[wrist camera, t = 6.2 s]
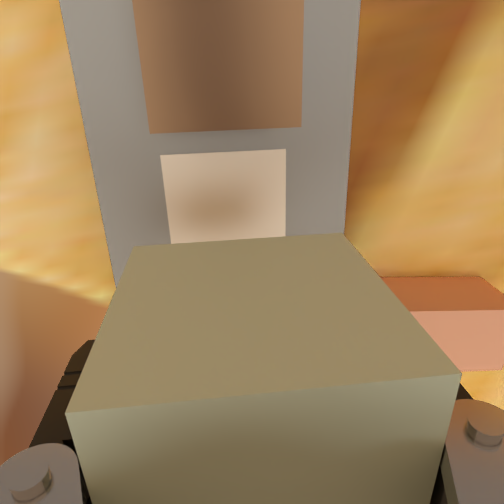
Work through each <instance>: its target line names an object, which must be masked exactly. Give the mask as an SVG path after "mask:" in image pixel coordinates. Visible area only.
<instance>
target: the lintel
mask: <svg viewBox="0 0 504 504" xmlns="http://www.w3.org/2000/svg"><path fill="white" fill-rule="evenodd" d="M380 278H381V279H382V280H383V281H384V282H385V284H386V285H387V286H388V287H389V288H390V289H391V291H392V292H393V293H394V294H395V295H396V297H397V298H398V299H399V300H400V301H401V302H402V304H403V305H404V306H405V307H406V308H407V309H408V311H409V312H410V313H411V314H412V315H413V316H414V318H415V319H416V320H417V321H418V322H419V324H420V325H421V326H422V327H423V328H424V329H425V331H426V332H427V333H428V334H429V335H430V336H431V338H432V339H433V340H434V341H435V342H436V343H437V345H438V346H439V347H440V348H441V349H442V351H443V352H444V353H445V354H446V355H447V356H448V358H449V359H450V360H451V361H452V362H453V363H454V365H455V366H456V367H457V368H458V369H459V370H460V371H489V370H502V368H503V365H504V294H503V293H502V292H500V291H499V290H497V289H496V288H495V287H493V286H492V285H491V284H489V283H488V282H487V281H485V280H484V279H483V278H481V277H380Z"/></svg>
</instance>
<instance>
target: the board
mask: <svg viewBox="0 0 504 504" xmlns="http://www.w3.org/2000/svg"><path fill="white" fill-rule="evenodd" d="M59 3H60V8H61V13H62V18H63V23H64V28H65V33H66V38H67V43H68V48H69V53H70V58H71V63H72V68H73V73H74V78H75V83H76V88H77V93H78V99H79V104H80V109H81V114H82V119H83V124H84V129H85V134H86V139H87V144H88V149H89V154H90V159H91V164H92V169H93V174H94V179H95V184H96V189H97V194H98V199H99V205H100V210H101V215H102V220H103V225H104V230H105V235H106V240H107V245H108V250H109V255H110V260H111V265H112V270H113V275H114V280H115V285H116V288H117V285H118V283H119V281H120V278H121V276H122V273H123V271H124V268H125V266H126V264H127V261H128V259H129V256H130V254H131V252H132V249H133V247H134V246H146V245H161V244H176V243H192V242H207V241H222V240H237V239H253V238H268V237H283V236H298V235H313V234H329V233H343V234H344V226H345V213H346V199H347V185H348V171H349V157H350V143H351V129H352V115H353V101H354V87H355V73H356V59H357V46H358V32H359V18H360V4H361V0H304V28H303V75H302V123H301V127H292V128H270V129H248V130H225V131H203V132H181V133H159V134H150V132H149V125H148V117H147V110H146V102H145V95H144V87H143V79H142V72H141V64H140V57H139V49H138V42H137V34H136V27H135V19H134V12H133V4H132V0H59Z"/></svg>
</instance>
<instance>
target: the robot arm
mask: <svg viewBox="0 0 504 504" xmlns="http://www.w3.org/2000/svg"><path fill="white" fill-rule="evenodd" d="M94 341H95V340H88V341H87V342H86V343H85V344H84V345H83V346H81V347H80V348H79V349H78V350H77V352H75V353H74V354H73V355H72V357H71V359H70V361H69V363H68V365H67V367H66V370H65V372H64V376H62V378H61V380H60V383H59V384H58V389H57V390H56V391H55V393H54V395H53V397H52V400H51V401H50V404H49V406H48V408H47V410H46V412H45V414H44V417H43V419H42V421H41V423H40V425H39V427H38V429H37V431H36V433H35V436H34V438H33V440H32V442H31V444H30V446H29V448H28V449H26V450H23V451H21V452H20V453H18V454H16V455H15V456H13V457H12V458H10V459H8V461H6V462H5V463H4V464H2V465H1V466H0V504H92V501H91V498H90V495H89V491H88V488H87V485H86V482H85V478H84V475H83V472H82V468H81V465H80V462H79V458H78V455H77V452H76V448H75V445H74V442H73V438H72V435H71V432H70V428H69V425H68V422H67V419H66V415H65V412H66V409H67V407H68V404H69V402H70V399H71V397H72V395H73V392H74V390H75V387H76V385H77V382H78V380H79V378H80V375H81V373H82V370H83V368H84V366H85V363H86V361H87V358H88V356H89V353H90V351H91V349H92V346H93V344H94ZM430 504H504V410H502V409H500V408H498V407H496V406H494V405H491V404H489V403H486V402H483V401H479V400H473V398H472V397H471V396H470V395H469V393H468V392H467V391H466V390H465V389H464V387H463V386H462V385H461V384H459V388H458V392H457V396H456V400H455V404H454V408H453V412H452V416H451V420H450V424H449V428H448V432H447V436H446V440H445V444H444V448H443V452H442V456H441V460H440V464H439V468H438V472H437V476H436V480H435V484H434V488H433V492H432V496H431V500H430Z"/></svg>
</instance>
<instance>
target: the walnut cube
mask: <svg viewBox="0 0 504 504" xmlns="http://www.w3.org/2000/svg"><path fill="white" fill-rule="evenodd" d="M132 4H133V12H134V19H135V27H136V34H137V42H138V49H139V57H140V64H141V72H142V79H143V87H144V95H145V102H146V110H147V117H148V125H149V132H150V134H159V133H181V132H203V131H225V130H248V129H270V128H292V127H301V123H302V75H303V28H304V0H132Z"/></svg>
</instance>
